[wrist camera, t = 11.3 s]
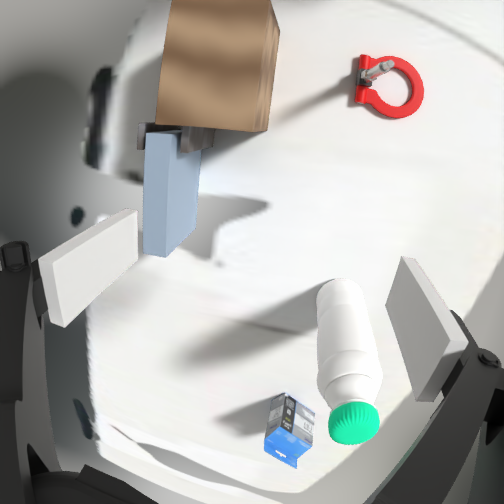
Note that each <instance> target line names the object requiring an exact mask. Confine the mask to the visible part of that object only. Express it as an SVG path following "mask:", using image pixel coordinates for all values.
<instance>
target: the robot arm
mask: <svg viewBox="0 0 504 504" xmlns="http://www.w3.org/2000/svg"><path fill="white" fill-rule="evenodd" d="M137 260H138V210H132V209H123V210H121V211H120V212H118V213H116V214H114V215H112V216H110V217H108V218H107V219H105V220H103V221H101V222H99V223H98V224H96V225H94V226H92V227H91V228H89V229H87V230H85V231H84V232H82V233H80V234H78V235H77V236H75V237H73V238H72V239H70V240H68V241H67V242H65V243H63V244H61V245H60V246H58V247H56V248H54V249H53V250H51V251H50V252H48V253H47V254H45V255H43V256H42V257H40V258H38V259H37V260H35V261H34V262H32V263H31V259H30V252H29V245H28V243H27V242H24V241H14V242H9V243H7V244H5V245H3V246H1V247H0V261H1V266H2V271H0V504H158V503H157V502H155V501H153V500H152V499H150V498H149V497H147V496H145V495H144V494H142V493H141V492H139V491H138V490H136V489H135V488H133V487H132V486H130V485H129V484H127V483H126V482H124V481H122V480H119V479H117V478H115V477H112V476H110V475H108V474H105V473H103V472H101V471H98V470H96V469H94V468H92V467H90V466H88V465H86V464H85V465H84V467H83V469H82V470H81V472H80V473H78V472H70V471H62V470H61V467H60V465H59V462H58V459H57V455H56V450H55V444H54V438H53V432H52V426H51V419H50V411H49V403H48V393H47V383H46V370H45V351H44V350H45V348H44V320H43V316H42V314H43V313H44V312H45V311H47V310H48V313H49V317H50V321H51V322H52V323H54V324H57V325H59V326H62V327H64V328H65V327H66V326H67V325H68V324H69V323H70V322H71V321H72V320H73V319H74V318H75V317H76V316H77V315H78V314H79V313H80V312H82V311H83V310H84V309H85V308H86V307H87V306H88V305H89V304H90V303H91V302H92V301H93V300H94V299H95V298H96V297H97V296H99V295H100V294H101V293H102V292H103V291H104V290H105V289H106V288H107V287H108V286H109V285H111V284H112V283H113V282H114V281H115V280H116V279H117V278H118V277H119V276H120V275H122V274H123V273H124V272H125V271H126V270H127V269H128V268H129V267H131V266H132V265H133V264H134V263H135V262H136V261H137ZM385 306H386V309H387V312H388V315H389V317H390V320H391V323H392V326H393V329H394V332H395V335H396V338H397V341H398V344H399V347H400V350H401V353H402V356H403V359H404V363H405V366H406V369H407V372H408V376H409V379H410V383H411V386H412V390H413V393H414V397H415V400H416V401H421V402H434V400H435V399H436V397H437V395H438V394H439V392H440V391H442V393H443V396H444V399H443V400H442V402H441V403H440V405H439V406H438V408H437V409H436V410H435V412H434V413H433V415H432V416H431V417H430V420H429V422H428V423H427V425H426V426H425V428H424V429H423V430H422V432H421V433H420V435H419V436H418V438H417V439H416V440H415V442H414V443H413V444H412V446H411V447H410V449H409V450H408V451H407V453H406V454H405V455H404V456H403V458H402V459H401V460H400V461H399V463H398V464H397V465H396V466H395V468H394V469H393V470H392V471H391V473H390V474H389V475H388V476H387V477H386V479H385V480H384V481H383V482H382V483H381V484H380V486H379V487H378V488H377V489H376V490H375V491H374V492H373V493H372V495H371V496H370V497H369V498H368V499H367V500H366V501H365V502H364V503H363V504H442V502H443V501H444V499H445V497H446V496H447V494H448V492H449V491H450V489H451V487H452V485H453V483H454V482H455V480H456V478H457V476H458V474H459V472H460V470H461V468H462V466H463V464H464V462H465V460H466V458H467V456H468V454H469V452H470V450H471V448H472V446H473V443H474V441H475V439H476V436H477V434H478V432H479V430H480V437H479V446H478V452H477V459H476V465H475V470H474V476H473V481H472V486H471V491H470V495H469V499H468V503H467V504H504V369H503V368H501V363H500V360H499V359H498V358H497V356H496V355H494V354H493V353H492V352H490V351H488V350H486V349H482V348H479V347H478V346H477V344H476V342H475V340H474V339H473V337H472V335H471V334H470V332H469V331H468V329H467V327H466V326H465V324H464V323H463V321H462V319H461V318H460V317H459V316H458V315H457V314H456V313H455V312H454V311H453V310H449V308H448V307H447V305H446V304H445V302H444V301H443V299H442V298H441V296H440V294H439V293H438V291H437V290H436V288H435V287H434V285H433V284H432V282H431V281H430V279H429V278H428V277H427V275H426V274H425V272H424V271H423V269H422V268H421V266H420V265H419V264H418V262H417V261H416V259H413V258H408V257H403V256H401V259H400V262H399V266H398V269H397V272H396V275H395V278H394V281H393V284H392V287H391V290H390V293H389V296H388V299H387V302H386V304H385ZM480 427H481V428H480Z"/></svg>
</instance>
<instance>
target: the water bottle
mask: <svg viewBox="0 0 504 504" xmlns="http://www.w3.org/2000/svg"><path fill="white" fill-rule="evenodd" d="M316 305H317V325H318V336H317V360H318V370H319V371H318V375H317V386H318V389H319V392H320V394H321V395H322V397H323V398H324V399H325V401H326V402H327V404H328V406H329V407H330V408H331V409H332V410H331V412H330V417H329V422H328V428H329V434H330V437H331V438H332V439H333V440H334V441H335V442H337V443H341V444H345V445H347V444H348V445H350V444H351V445H353V444H360V443H363V442H365V441H367V440H369V439H371V438H372V437H373V436H374V435H375V434H376V433H377V431H378V429H379V424H380V420H379V415H378V411H377V410H376V407H375V405H374V404H373V402H374V401H375V399H376V396H377V393H378V390H379V388H380V386H381V383H382V369H381V366H380V364H379V362H378V355H377V349H376V344H375V339H374V335H373V332H372V328H371V325H370V323H369V320H368V312H367V309H366V306H365V302H364V297H363V293H362V291H361V289H360V287H359V286H358V285H357V284H356V283H355V282H353V281H351V280H348V279H334V280H331V281H329V282H327V283H326V284H324V285H323V286H322V287H321V289H320V290H319V292H318V295H317V299H316Z"/></svg>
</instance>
